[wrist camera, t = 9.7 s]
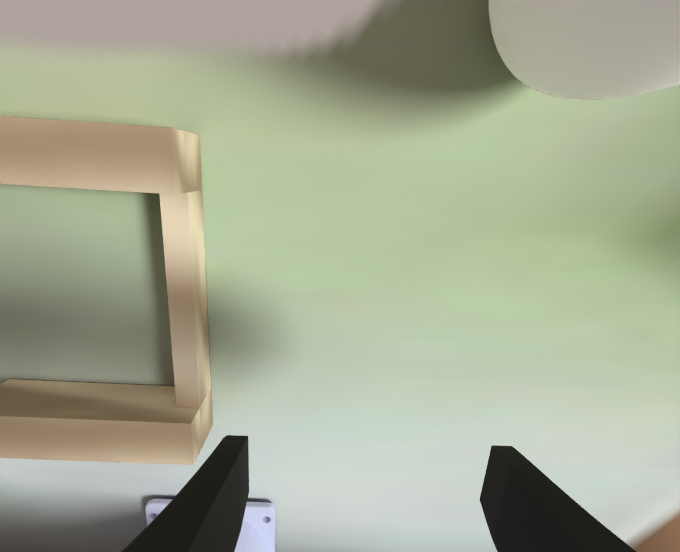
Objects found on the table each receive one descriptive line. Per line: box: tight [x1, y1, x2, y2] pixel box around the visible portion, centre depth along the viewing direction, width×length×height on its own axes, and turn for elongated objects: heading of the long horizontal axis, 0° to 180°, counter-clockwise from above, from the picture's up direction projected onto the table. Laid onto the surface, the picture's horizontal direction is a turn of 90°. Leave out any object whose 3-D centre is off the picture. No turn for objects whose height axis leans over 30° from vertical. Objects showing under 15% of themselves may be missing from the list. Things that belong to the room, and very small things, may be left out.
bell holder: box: [0, 116, 213, 465], centre depth 17 cm, size 16×11×3 cm
